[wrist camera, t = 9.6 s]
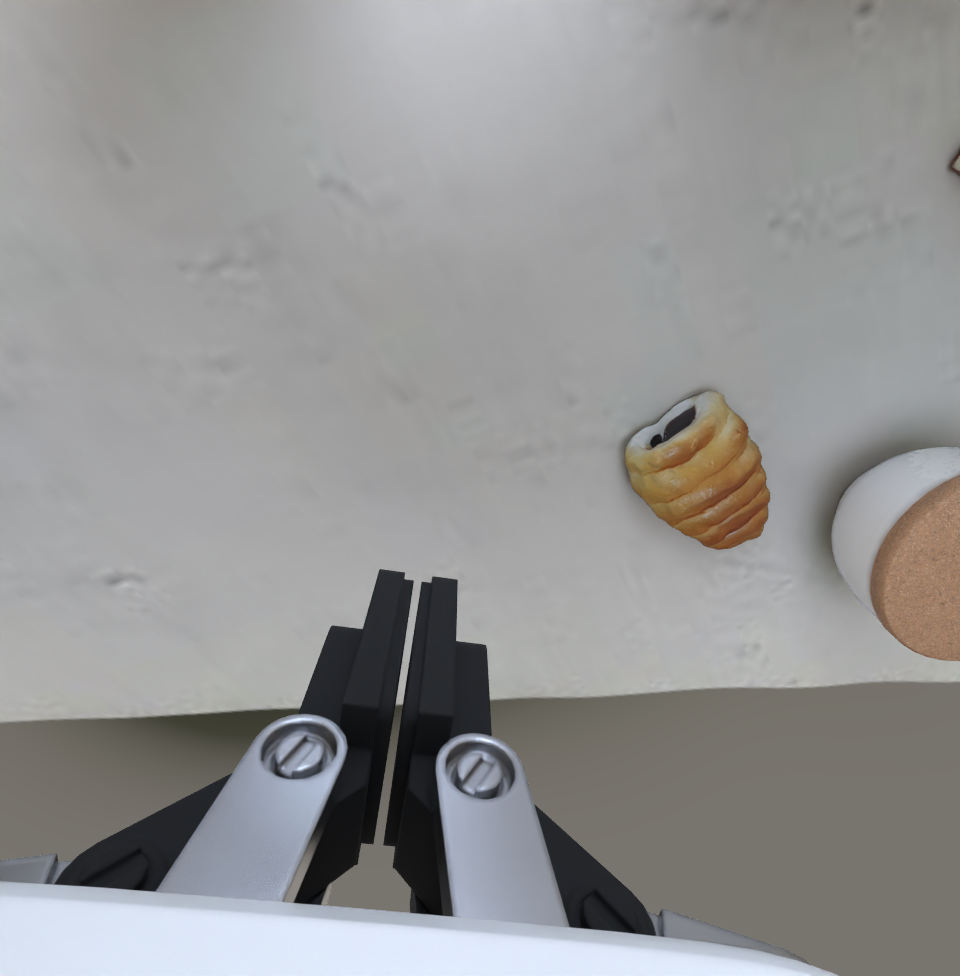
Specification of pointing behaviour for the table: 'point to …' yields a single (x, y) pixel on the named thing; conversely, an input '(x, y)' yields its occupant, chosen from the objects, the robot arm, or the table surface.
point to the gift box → (957, 164)
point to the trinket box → (906, 548)
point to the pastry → (701, 472)
